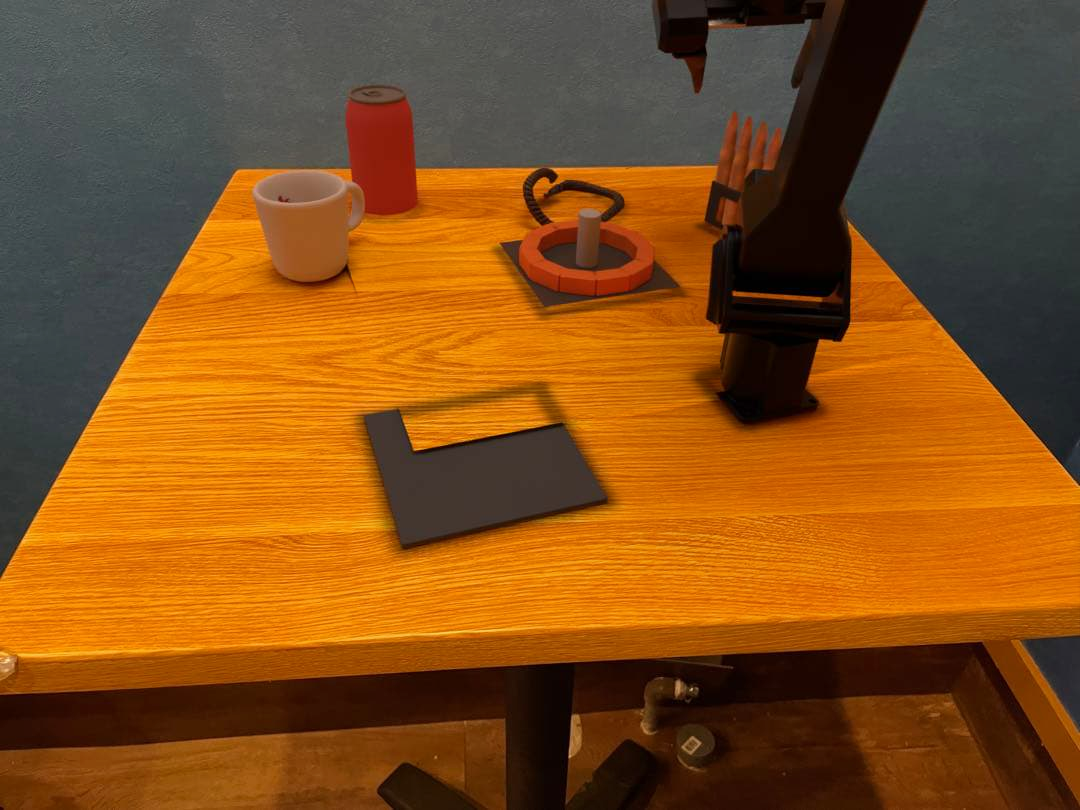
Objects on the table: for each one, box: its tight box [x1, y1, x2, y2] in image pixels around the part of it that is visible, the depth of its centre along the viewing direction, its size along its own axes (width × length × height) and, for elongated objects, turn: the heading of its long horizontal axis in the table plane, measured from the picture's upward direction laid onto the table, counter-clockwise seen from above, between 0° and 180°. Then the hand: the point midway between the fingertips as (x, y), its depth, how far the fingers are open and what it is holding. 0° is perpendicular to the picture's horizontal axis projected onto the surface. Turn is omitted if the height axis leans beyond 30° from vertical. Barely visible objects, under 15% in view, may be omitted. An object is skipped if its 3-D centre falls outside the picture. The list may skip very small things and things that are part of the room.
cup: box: [251, 169, 365, 283], centre depth 74 cm, size 11×8×8 cm
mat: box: [363, 408, 609, 550], centre depth 54 cm, size 13×13×1 cm
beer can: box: [344, 84, 419, 216], centre depth 83 cm, size 7×7×12 cm
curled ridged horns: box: [522, 167, 625, 227], centre depth 85 cm, size 13×5×10 cm
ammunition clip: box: [703, 110, 783, 231], centre depth 79 cm, size 11×2×12 cm, turn 37°
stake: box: [499, 208, 682, 308], centre depth 75 cm, size 13×13×6 cm
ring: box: [519, 219, 656, 296], centre depth 76 cm, size 12×12×2 cm
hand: (744, 87), depth 77 cm, fingers open, 9 cm apart
